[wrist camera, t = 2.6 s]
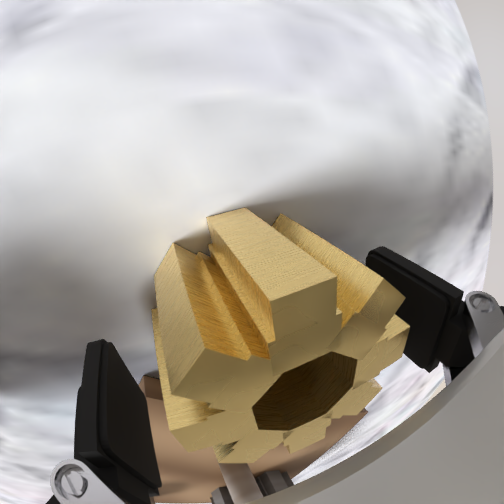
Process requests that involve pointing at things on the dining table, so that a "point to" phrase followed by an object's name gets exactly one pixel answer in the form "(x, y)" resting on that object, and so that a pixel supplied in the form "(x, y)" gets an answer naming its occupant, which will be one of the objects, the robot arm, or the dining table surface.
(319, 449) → the gear board
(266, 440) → the brass gear
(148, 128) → the dining table surface
